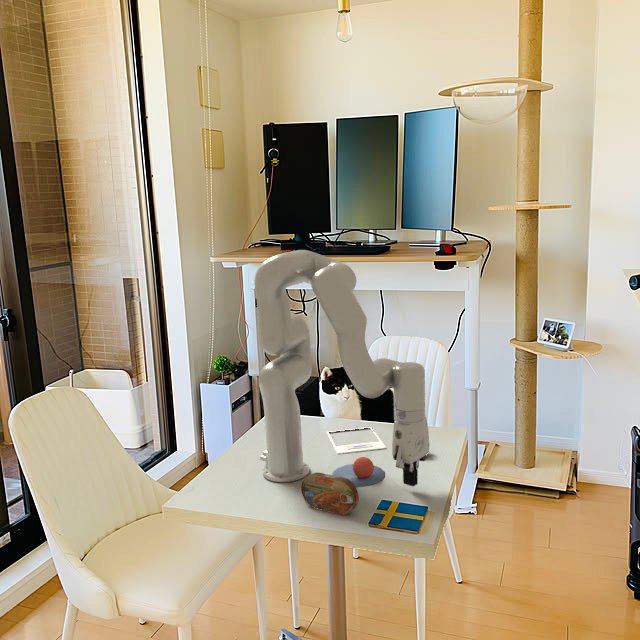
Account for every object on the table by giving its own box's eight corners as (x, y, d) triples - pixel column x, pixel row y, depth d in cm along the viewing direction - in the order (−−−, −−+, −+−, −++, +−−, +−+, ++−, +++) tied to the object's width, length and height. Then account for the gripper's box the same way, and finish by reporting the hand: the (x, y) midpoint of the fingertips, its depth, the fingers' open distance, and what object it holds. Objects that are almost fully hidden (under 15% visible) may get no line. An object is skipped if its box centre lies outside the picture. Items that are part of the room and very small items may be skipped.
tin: (301, 504, 158) (299, 472, 157) (308, 499, 161) (306, 467, 159) (354, 519, 150) (352, 484, 148) (361, 513, 152) (359, 479, 151)
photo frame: (337, 452, 187) (326, 431, 205) (337, 456, 188) (326, 434, 205) (386, 446, 190) (371, 426, 207) (386, 450, 190) (371, 429, 207)
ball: (345, 464, 171) (359, 457, 167) (357, 458, 175) (371, 451, 172) (354, 484, 170) (369, 477, 166) (366, 476, 174) (381, 470, 171)
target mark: (321, 477, 172) (321, 477, 172) (354, 460, 183) (353, 459, 183) (363, 491, 163) (363, 490, 163) (395, 472, 173) (395, 471, 173)
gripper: (405, 425, 150) (406, 499, 154) (439, 408, 161) (439, 477, 165) (378, 419, 155) (380, 490, 159) (413, 402, 166) (414, 470, 170)
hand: (410, 483), depth 162 cm, fingers closed
